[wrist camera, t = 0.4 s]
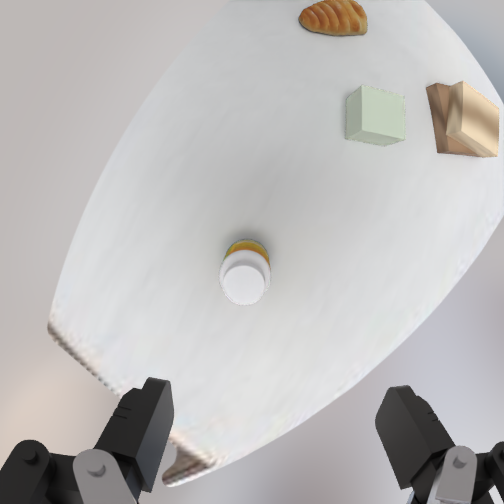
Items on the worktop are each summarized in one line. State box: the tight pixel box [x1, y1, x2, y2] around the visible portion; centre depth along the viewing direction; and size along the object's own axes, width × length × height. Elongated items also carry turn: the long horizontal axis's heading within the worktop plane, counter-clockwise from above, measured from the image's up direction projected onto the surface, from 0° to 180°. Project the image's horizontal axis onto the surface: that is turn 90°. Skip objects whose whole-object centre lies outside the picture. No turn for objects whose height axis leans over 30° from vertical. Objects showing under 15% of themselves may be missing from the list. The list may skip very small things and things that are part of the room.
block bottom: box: [426, 83, 481, 157], centre depth 29 cm, size 10×10×4 cm
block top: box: [446, 81, 499, 158], centre depth 26 cm, size 8×8×4 cm
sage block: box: [345, 85, 405, 146], centre depth 28 cm, size 6×6×6 cm
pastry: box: [299, 0, 367, 36], centre depth 26 cm, size 9×7×4 cm
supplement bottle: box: [219, 239, 271, 305], centre depth 31 cm, size 5×5×10 cm
